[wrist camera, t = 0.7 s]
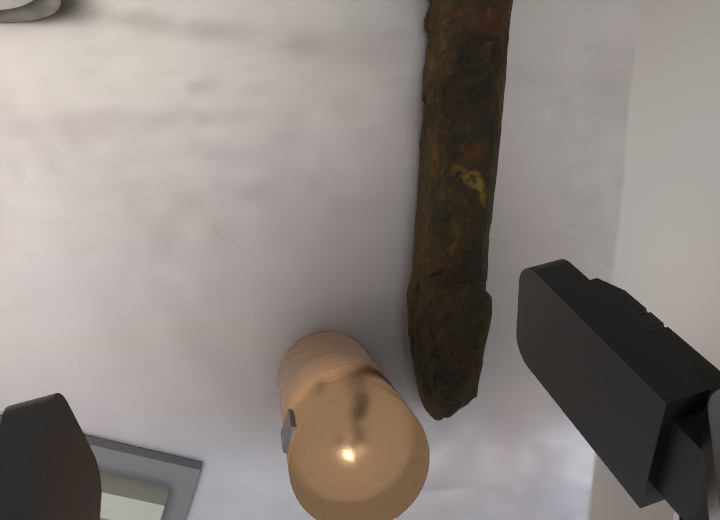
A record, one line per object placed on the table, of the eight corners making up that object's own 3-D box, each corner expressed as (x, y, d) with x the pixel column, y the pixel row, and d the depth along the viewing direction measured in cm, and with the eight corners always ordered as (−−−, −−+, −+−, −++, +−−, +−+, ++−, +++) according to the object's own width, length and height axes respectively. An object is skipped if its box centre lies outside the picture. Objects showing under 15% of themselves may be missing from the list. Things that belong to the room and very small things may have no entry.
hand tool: (414, -22, 32) (446, -67, 27) (500, -6, 33) (548, -47, 28) (364, 398, 34) (385, 436, 28) (447, 404, 35) (483, 441, 29)
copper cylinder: (291, 319, 33) (309, 375, 22) (385, 345, 34) (447, 412, 23) (262, 411, 33) (266, 513, 22) (356, 435, 34) (404, 544, 23)
